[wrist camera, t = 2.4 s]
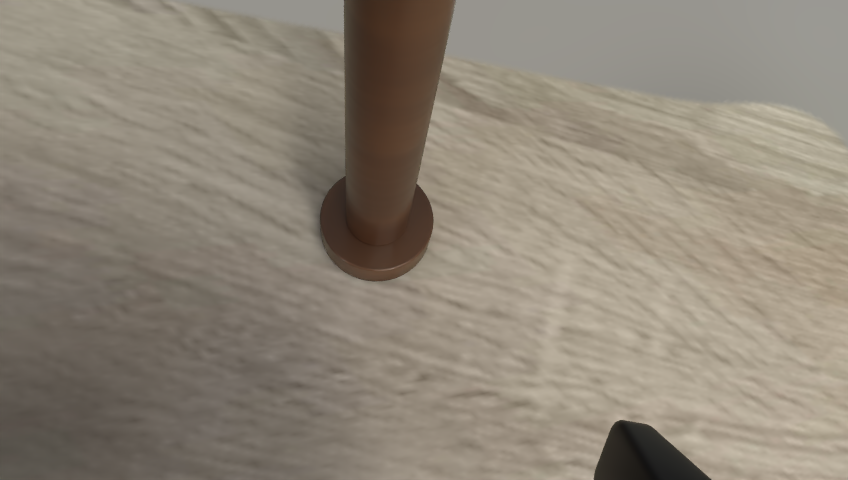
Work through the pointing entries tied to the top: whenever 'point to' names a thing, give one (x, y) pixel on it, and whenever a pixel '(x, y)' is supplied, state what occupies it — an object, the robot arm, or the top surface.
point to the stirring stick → (385, 136)
